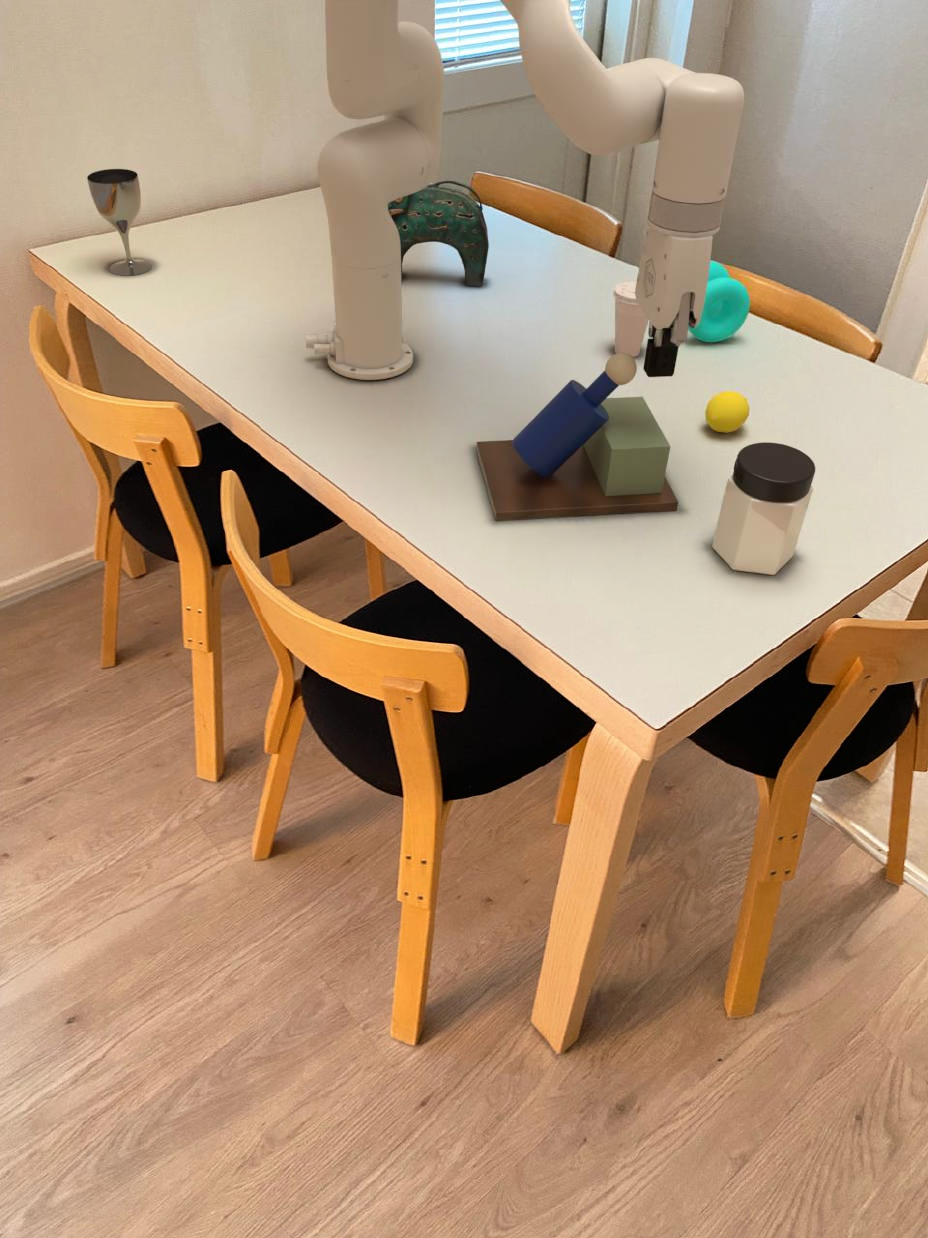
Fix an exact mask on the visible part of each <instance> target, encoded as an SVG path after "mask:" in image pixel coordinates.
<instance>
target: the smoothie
mask: <svg viewBox="0 0 928 1238" xmlns="http://www.w3.org/2000/svg"><path fill="white" fill-rule="evenodd" d="M636 283H637V281H624V282H620V283H617V284H616V285H615V286H614V288H613V293H612V296H613V298H614V300H615V301H614V354H617V353H626V354H628V355H630V356H631V357H632V358H635V357H638V356H639V355H640V352H641V349H642V345H643V341H644V338H645V335H646V331H647V328H648V325H649V319H648V318H647V316H646V315H645V313H644V312H643V310H642V309H641V307H640V305H639V304H638V302H637V300H636V297H635V289H636Z"/></svg>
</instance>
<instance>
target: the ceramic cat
mask: <svg viewBox="0 0 928 1238" xmlns="http://www.w3.org/2000/svg"><path fill="white" fill-rule="evenodd" d="M447 184H451V185H456V186H458V187H462V188H465V189H467V190H469V191H470V192H471V193H472V194H473V195H474V196H475V197H476V199H477V200H478V201H476V199H475V198H474V197H473V196H472V195H470V194H469V193H468V192H467V191H465V190H463V189H461V188H458V187H455V186H451V185H447ZM483 210H484V208H483V204H482V200H481V198H480V196H479V194H478V193H477V192H476V190H475V189H474V188H473V187H472V186H470V185H468V184H466V183H464V182H460V181H456V180H441V181H438V182H435V183H430V184H429V185H428V186H427V187H425V188H424V189H422V190H420V191H418V192H415V193H413V194H410V195H407V196H404V197H401V198H399V199H396V200H394V201H392V202H390V203H388V211H389V214H390V216H391V218H392V219H393V221H394V223H395V225H396V227H397V230H398V233H399V237H400V245H401V276H402V274H403V262H404V258H405V255H406V254H407V253H408V252H409V250H410V249H411V248H412V247H413V246H414V245H419V244H423V243H441V244H444V245H447V246H450V247H451V248H453V249H454V250H456V251H457V253H458V255H459V258H460V259H461V264H462V265H463V266H462V267H463V270H464V284H465V286H467V287H475V288H476V287H478V288H479V287H483V284H484V279H485V273H486V266H487V260H488V254H489V249H490V247H489V246H490V243H489V242H490V241H489V234H488V226H487V223H486V219H485V215H484V212H483Z"/></svg>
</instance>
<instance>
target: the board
mask: <svg viewBox="0 0 928 1238" xmlns="http://www.w3.org/2000/svg"><path fill="white" fill-rule="evenodd" d="M475 450H476V454H477V457H478V462H479V464H480V465H479V466H480V468H481V472H482V475H483V479H484V484H485V487H486V490H487V494H488V498H489V502H490V505H491V510H492V512H493V517H494V519H495V521H497V522H498V521H513V520H532V519H549V518H566V517H567V518H569V517H582V516H599V515H600V516H601V515H616V514H617V515H618V514H634V513H635V514H636V513H652V512H653V513H655V512H669V511H670V512H671V511H677V510H678V507H679V500H678V499H677V497H676V495H675V493H674V491H673V489H672V487H671V485H670V483H669V482H668V480H667V478H666V477H665V478H664V484H663V489H662V493H656V494H638V495H620V496H605V494H604V492H603V490H602V487H601V485H600V483H599V480H598V478H597V476H596V474H595V471H594V469H593V467H592V464H591V462H590V460H589V457H588V455H587V453H586V450H585V448H584V446H583V445H582V446H581V447H580V448H579V449H578V450H577V451H576V452H575V453H574V454H573V455H572V456H571V457H570V458H569V459H568V460H567V461H566V462H565V463H564V464H563V465H562V466H561V467H560V468H559V469H558V470H557V471H556V472H555V473H554V474H553V475H552V476H551V477H549V478H546V477H544V476H542V475H540V474H538V473H537V472H536V471H534V470H533V469H532V468H531V467H530V466H529V465H527V464H526V462H525V461H524V460H523V459H522V458H521V457H520V455H519V454H518V453H517V451H516V450H515V448H514V446H513V439H505V440H483V441H476V443H475Z"/></svg>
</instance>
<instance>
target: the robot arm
mask: <svg viewBox="0 0 928 1238" xmlns="http://www.w3.org/2000/svg"><path fill="white" fill-rule="evenodd" d="M499 1H500V2H501V4H502V5H503V6H504V8H505V9H506V10H507V12H508V14H510V16H511V17H512V18H513V20H514V21H515V23H516V25H517V29H518V45H519V50H520V55H521V60H522V63H523V67H524V72H525V75H526V78H527V82H528V83H529V86H530V89H531V90H532V92H533V94H534V96H535V97H536V98H537V100H538V102H539V103H540V104H541V106H542V107H543V109H544V110H545V111H546V113H547V114H548V115H549V117H550V118H551V119H552V120H553V122H554V123H555V124H556V126H557V127H558V128H559V130H561V132H562V133H563V134H564V135H565V136H566V138H567V139H568V140H569V141H570V142H571V143H573V144H574V145H575V146H576V147H577V148H578V149H580V150H581V151H583V152H585V153H586V154H589V155H592V156H596V157H608V156H612V155H614V154H615V155H616V154H618V153H621V152H623V151H626V150H628V149H631V148H633V147H635V146H638V145H643V144H644V145H645V144H648V143H652V142H656V141H658V145H657V151H656V159H655V165H654V171H653V179H652V186H651V193H650V200H649V208H648V214H647V220H646V223H647V225H648V226H647V230H646V233H645V237H644V242H643V246H642V250H641V251H642V252H641V257H640V262H639V267H638V273H637V277H636V282H637V283H636V289H635V297H636V300H637V302H638V304H639V305H640V307H641V309H642V310H643V312H644V313H645V315H646V316H647V318H648V319H649V321H648V330H647V335H648V338H647V343H646V348H645V354H644V361H643V367H642V369H643V371H644V373H645V374H646V376H647V377H648V378H662V377H673V376H674V375H675V369H676V364H677V359H678V352H679V347H680V345H681V344H687V341H688V333H689V329H688V325H689V326H690V327H691V328H695V327H697V325H698V324H699V322H700V319H701V315H702V311H703V306H704V301H705V296H706V290H707V283H708V276H709V268H710V260H711V259H712V249H713V240H714V239H713V237H714V236H713V235H715V234H717V233H718V232H719V231H720V229H721V223H722V217H723V213H724V208H725V202H726V197H727V192H728V186H729V181H730V177H731V171H732V166H733V161H734V157H735V152H736V151H735V150H736V145H737V140H738V136H739V130H740V125H741V120H742V115H743V109H744V103H745V91H744V88H743V85H742V84H741V82H739V81H738V80H736V79H734V78H733V77H730V76H727V75H724V74H719V73H718V74H717V73H708V72H695V71H693V70H690V69H688V68H684V67H683V66H681V65H678V64H676V63H673V62H671V61H668V60H665V59H662V58H658V57H646V58H645V57H644V58H640V59H636V60H633V61H630V62H625V63H621V64H617V65H614V66H611V67H607V68H606V66H605V65H604V64H603V63H602V62H601V61H600V59H599V58H598V56H596V54H595V53H594V52H593V49H591V48H590V46H589V45H588V44H587V42H586V41H585V40H584V38H583V36H582V35H581V33H580V31H579V29H578V28H577V26H576V23H575V20H574V18H573V15H572V10H571V2H572V0H499ZM398 14H399V0H324V18H325V19H324V20H325V23H324V24H325V54H326V55H325V57H326V59H325V61H326V80H327V88H328V94H329V98H330V101H331V103H332V105H333V107H334V108H335V110H336V111H337V112H338V113H339V114H340V115H342V116H343V117H345V118H347V119H351V120H366V119H373V118H377V117H381V116H384V119H382V120H380V121H376V122H371V123H366V124H363V125H360V126H356V127H353V128H350V129H347V130H344V131H341V132H339V133H337V134H336V135H334V136H333V137H331V138H330V139H329V140H327V142H326V143H325V144H324V145H323V147H322V148H321V150H320V153H319V155H318V160H317V178H318V183H319V186H320V190H321V194H322V198H323V202H324V206H325V210H326V216H327V224H328V233H329V244H330V256H331V270H332V271H331V272H332V273H331V274H332V285H333V287H332V288H333V302H334V303H333V304H334V317H335V325H333V331H327V332H326V333H327V334H316V333H315V334H313V333H312V334H305V335H304V336H305V348H306V349H314V355H323V354H327V364H328V366H329V368H330V369H331V370H332V371H334V372H335V373H337V374H338V375H340V376H343V377H345V378H349V379H354V380H361V381H378V380H379V381H380V380H387V379H391V378H394V377H397V376H400V375H401V374H404V373H405V372H407V371H408V370H410V368H411V367H412V366H413V364H414V351H413V349H412V348H411V347H410V346H409V345H408V344H407V343H406V342H403V301H402V300H403V297H402V294H403V293H402V291H403V289H402V275H401V245H400V237H399V233H398V230H397V227H396V225H395V223H394V221H393V219H392V218H391V216H390V214H389V211H388V203H390V202H392V201H394V200H396V199H399V198H401V197H404V196H407V195H410V194H413V193H415V192H418V191H420V190H422V189H424V188H425V187H427V186H428V185H430V184H432V183H433V181H434V179H435V178H436V176H437V173H438V171H439V168H440V167H439V166H440V162H441V156H442V140H443V118H444V100H445V99H444V98H445V68H444V62H443V58H442V54H441V51H440V48H439V45H438V44H437V42H436V40H435V38H434V36H433V35H432V33H430V31H429V30H428V29H426V28H425V27H424V26H422V25H421V24H418V23H416V22H414V21H399V18H398V17H399V16H398Z"/></svg>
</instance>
